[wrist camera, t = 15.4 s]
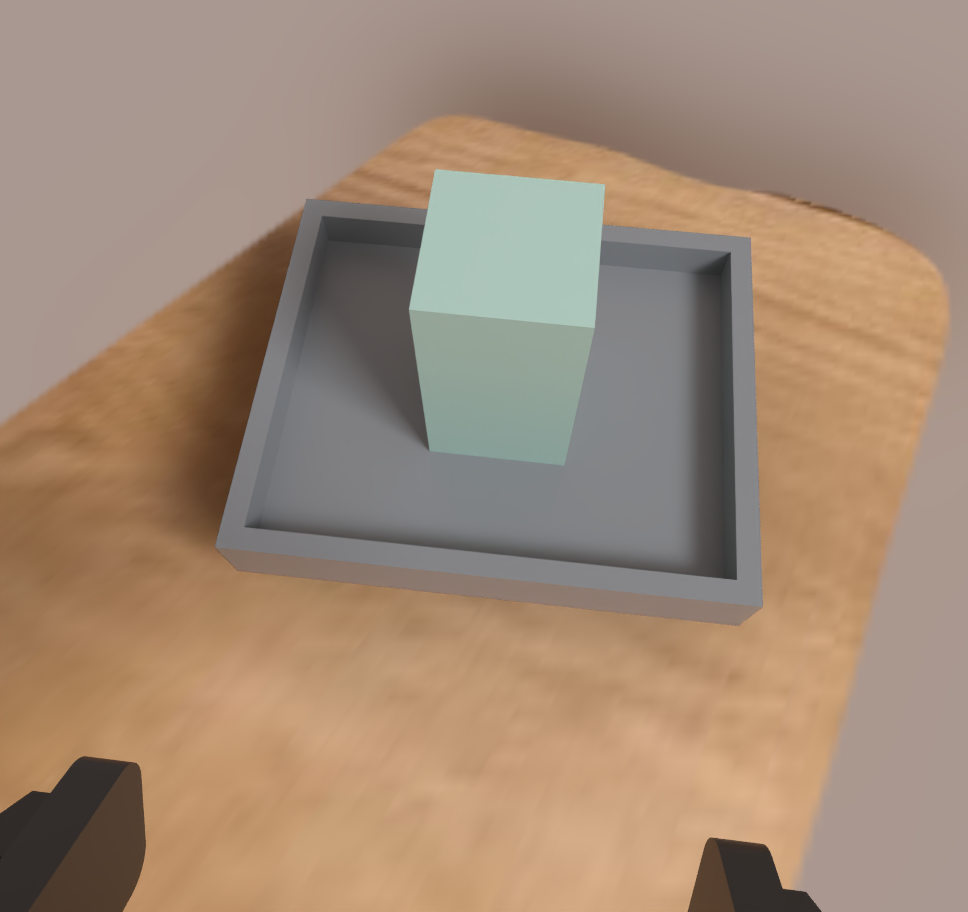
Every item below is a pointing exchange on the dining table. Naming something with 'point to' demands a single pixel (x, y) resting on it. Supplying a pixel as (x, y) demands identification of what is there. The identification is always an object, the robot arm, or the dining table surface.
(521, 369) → the sage part block
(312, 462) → the grey shallow tray
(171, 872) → the dining table surface
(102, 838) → the robot arm
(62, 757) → the dining table surface
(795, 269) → the dining table surface
